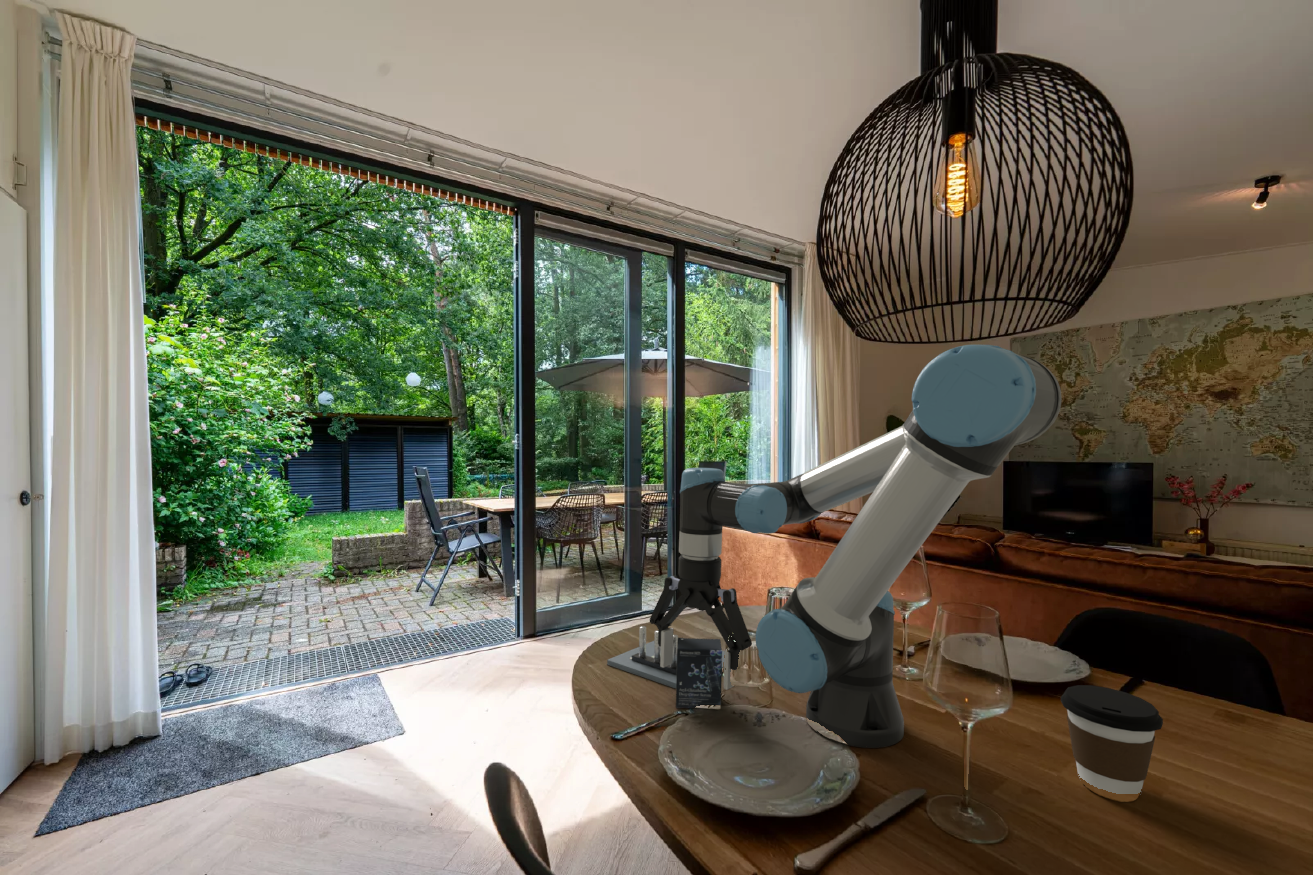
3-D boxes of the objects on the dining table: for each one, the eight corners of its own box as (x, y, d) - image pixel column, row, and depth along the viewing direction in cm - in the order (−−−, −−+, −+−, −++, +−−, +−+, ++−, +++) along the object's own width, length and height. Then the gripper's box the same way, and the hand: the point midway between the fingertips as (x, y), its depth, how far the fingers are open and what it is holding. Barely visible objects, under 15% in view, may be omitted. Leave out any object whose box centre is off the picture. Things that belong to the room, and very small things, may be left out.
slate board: (742, 661, 123) (742, 655, 123) (686, 692, 108) (686, 685, 108) (667, 639, 136) (667, 634, 136) (607, 664, 120) (607, 658, 120)
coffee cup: (1167, 826, 72) (1169, 728, 72) (1059, 794, 78) (1060, 703, 78) (1156, 783, 81) (1157, 696, 81) (1060, 758, 87) (1061, 677, 87)
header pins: (685, 672, 114) (685, 636, 114) (678, 676, 112) (679, 639, 112) (638, 657, 122) (638, 623, 122) (631, 660, 120) (632, 626, 120)
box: (675, 709, 101) (676, 647, 101) (676, 695, 107) (677, 636, 107) (721, 711, 100) (722, 649, 101) (719, 696, 106) (720, 638, 106)
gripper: (774, 563, 99) (770, 689, 99) (658, 542, 114) (655, 651, 115) (751, 571, 93) (747, 705, 93) (632, 548, 108) (629, 662, 109)
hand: (696, 675), depth 104 cm, fingers open, 13 cm apart
